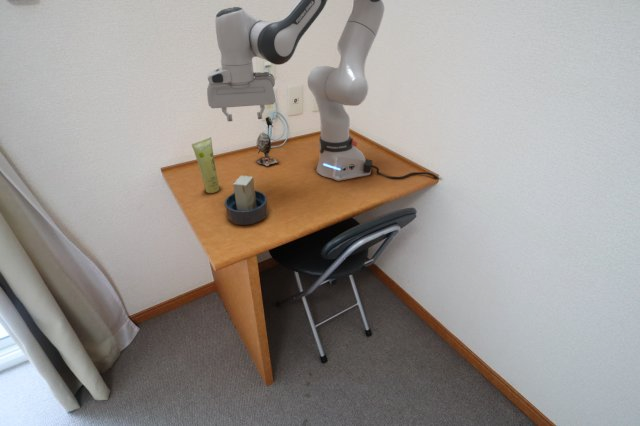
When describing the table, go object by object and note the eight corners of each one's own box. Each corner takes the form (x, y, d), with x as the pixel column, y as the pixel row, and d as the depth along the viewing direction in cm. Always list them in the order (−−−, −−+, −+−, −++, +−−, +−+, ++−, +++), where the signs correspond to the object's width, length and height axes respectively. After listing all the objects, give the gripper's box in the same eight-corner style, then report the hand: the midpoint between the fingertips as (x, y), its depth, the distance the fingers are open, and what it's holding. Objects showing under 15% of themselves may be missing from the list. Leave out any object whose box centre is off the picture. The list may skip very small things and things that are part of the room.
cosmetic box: (250, 219, 101) (245, 185, 94) (237, 217, 101) (232, 184, 94) (257, 208, 106) (253, 176, 99) (245, 206, 107) (240, 174, 100)
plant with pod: (270, 155, 142) (266, 110, 131) (280, 164, 134) (276, 118, 123) (253, 158, 139) (247, 113, 128) (262, 168, 131) (257, 121, 119)
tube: (217, 194, 114) (207, 143, 103) (203, 194, 114) (191, 143, 103) (220, 186, 119) (211, 137, 107) (207, 186, 118) (196, 137, 107)
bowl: (267, 201, 110) (265, 188, 107) (269, 223, 100) (267, 209, 97) (228, 205, 108) (225, 191, 105) (226, 228, 98) (223, 213, 94)
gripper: (272, 69, 97) (276, 114, 105) (204, 72, 93) (213, 118, 101) (274, 73, 92) (278, 120, 100) (201, 77, 88) (212, 125, 96)
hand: (245, 119), depth 101 cm, fingers open, 8 cm apart
